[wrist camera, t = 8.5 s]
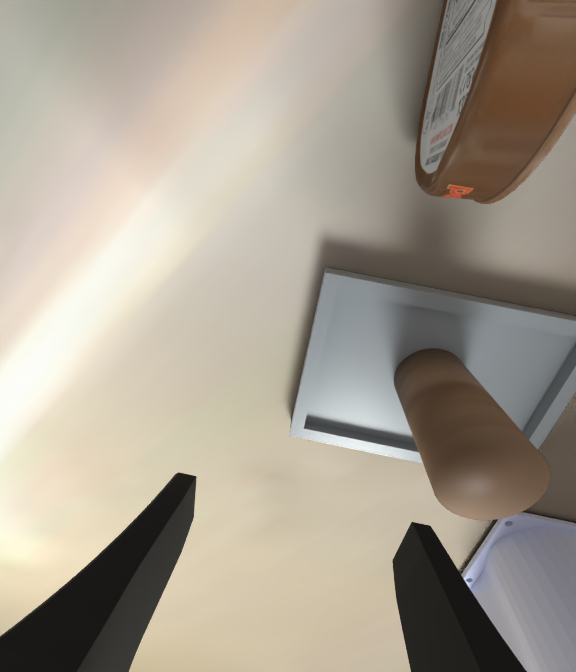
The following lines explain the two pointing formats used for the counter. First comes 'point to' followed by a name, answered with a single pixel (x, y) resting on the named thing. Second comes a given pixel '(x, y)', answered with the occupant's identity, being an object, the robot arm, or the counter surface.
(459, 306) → the tray
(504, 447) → the brown rounded cylinder
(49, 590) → the counter surface
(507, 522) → the robot arm
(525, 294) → the counter surface
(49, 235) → the counter surface
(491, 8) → the tin
